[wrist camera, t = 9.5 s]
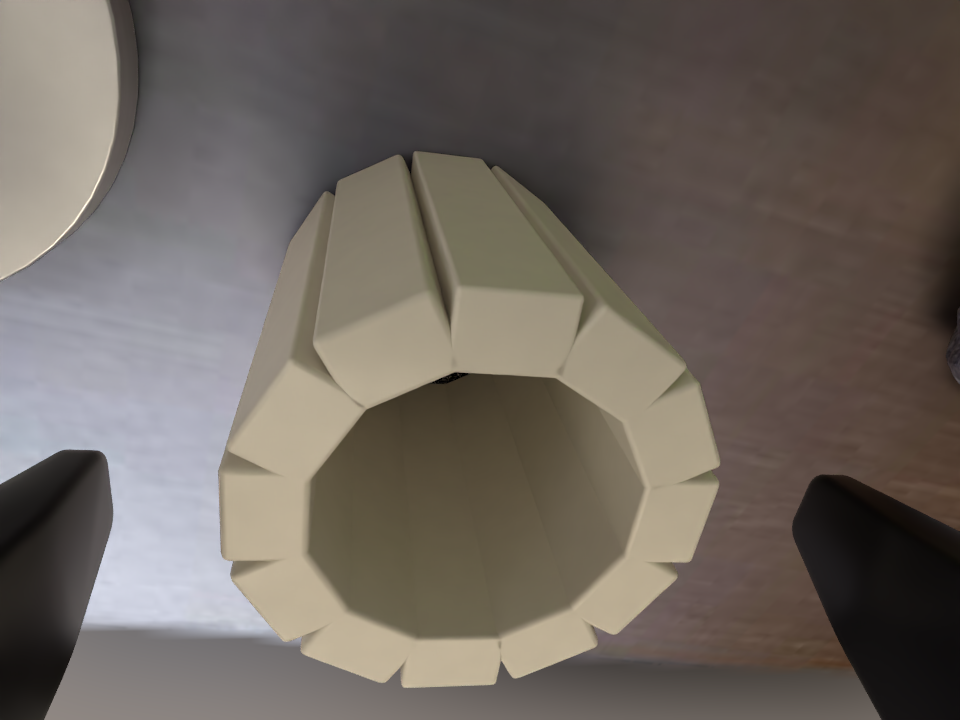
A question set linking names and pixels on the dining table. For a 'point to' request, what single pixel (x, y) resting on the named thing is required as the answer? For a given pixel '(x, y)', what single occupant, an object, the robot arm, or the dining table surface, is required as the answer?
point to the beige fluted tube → (457, 436)
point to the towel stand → (60, 118)
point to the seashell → (955, 351)
